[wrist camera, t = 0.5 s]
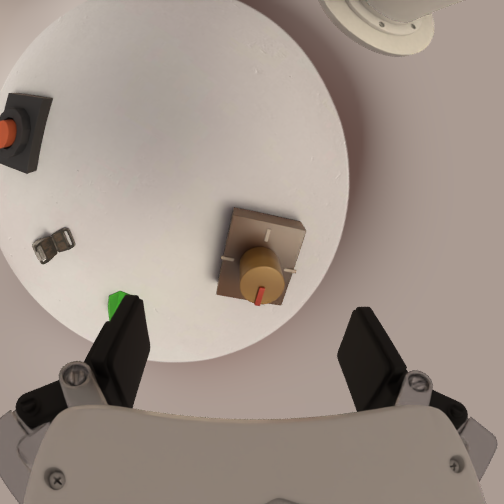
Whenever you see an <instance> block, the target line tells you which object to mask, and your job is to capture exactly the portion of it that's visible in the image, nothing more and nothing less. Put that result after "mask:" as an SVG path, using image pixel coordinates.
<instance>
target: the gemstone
mask: <svg viewBox="0 0 504 504" xmlns="http://www.w3.org/2000/svg"><path fill="white" fill-rule="evenodd" d="M126 294H127V293H124V292H121V291H119V292H117V293H114V294H112V295H110V296H109V302H108V313H109V321H110V320H111V318H112V316H113V315H114V313H115V311H116V309H117V308H118V306H119V304H120V302H121V301H122V299H123V297H124V296H125V295H126ZM128 295H129V294H128Z"/></svg>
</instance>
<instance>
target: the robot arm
mask: <svg viewBox="0 0 504 504" xmlns="http://www.w3.org/2000/svg"><path fill="white" fill-rule="evenodd" d="M345 1H346V3H347V4H348V6H349V7H350V9H351V10H352V11H353V12H354V13H355V14H356V15H357V16H358V17H359V18H360V19H362V20H363V21H364V22H365V23H367V24H368V25H370V26H371V27H373V28H375V29H377V30H378V31H380V32H383V33H386V34H389V35H393V36H406V35H409V34H412V33H414V32H416V31H417V30H418V29H419V28H420V26H421V24H422V19H423V16H425V15H428V14H430V13H432V12H435V11H437V10H440V9H442V8H445V7H448V6H450V5H453V4H456V3H458V2H461V1H464V0H345ZM149 352H150V341H149V335H148V330H147V324H146V318H145V311H144V305H143V300H142V299H139V297H138V296H137V295H128V294H126V295H125V296H124V297H123V299H122V301H121V302H120V304H119V306H118V308H117V309H116V311H115V313H114V315H113V316H112V318H111V320H110V321H107V322H106V323H105V324H104V326H103V327H102V329H101V331H100V333H99V335H98V336H97V338H96V340H95V342H94V344H93V346H92V347H91V349H90V351H89V353H88V355H87V357H86V359H85V361H84V362H81V361H74V362H70V363H68V364H66V365H65V366H64V367H63V368H62V369H61V370H60V373H59V380H58V381H55V382H53V383H50V384H48V385H45V386H43V387H41V388H38V389H36V390H33V391H31V392H28V393H25V394H23V395H22V396H21V397H20V398H19V399H18V401H17V403H16V410H15V411H13V412H12V411H11V410H10V411H9V412H7V413H6V414H5V415H3V416H2V417H1V418H0V477H1V478H2V480H3V481H4V483H5V484H6V486H7V487H8V489H9V490H10V492H11V493H12V494H13V496H14V497H15V498H16V500H17V501H18V502H19V504H486V502H485V498H484V495H483V492H482V488H481V486H480V483H479V482H480V480H481V478H482V476H483V475H484V473H485V471H486V469H487V467H488V465H489V463H490V461H491V459H492V457H493V455H494V453H495V451H496V448H497V440H496V437H495V436H494V435H493V434H492V433H491V432H489V431H488V430H487V429H486V428H484V427H483V426H482V425H481V424H479V423H478V422H477V421H476V420H474V419H473V418H472V417H470V418H469V419H468V418H467V417H468V414H467V410H466V408H465V407H464V405H463V404H461V403H460V402H458V401H456V400H454V399H451V398H449V397H447V396H445V395H443V394H440V393H438V392H436V391H434V390H432V388H433V384H432V381H431V379H430V378H429V376H428V375H426V374H425V373H423V372H421V371H415V370H413V371H410V372H408V371H407V370H406V368H407V367H406V365H405V363H404V361H403V360H402V358H401V356H400V355H399V353H398V351H397V350H396V348H395V346H394V345H393V343H392V341H391V340H390V338H389V336H388V335H387V333H386V331H385V330H384V328H383V327H382V325H381V323H380V322H379V320H378V319H377V317H376V316H375V314H374V312H373V311H372V309H371V308H370V307H357V308H356V310H354V311H353V312H352V315H351V318H350V321H349V323H348V326H347V329H346V332H345V335H344V337H343V340H342V342H341V345H340V348H339V350H338V354H337V357H338V361H339V364H340V366H341V369H342V371H343V374H344V376H345V379H346V382H347V385H348V388H349V390H350V393H351V396H352V399H353V401H354V404H355V407H356V410H357V412H353V413H345V414H338V415H329V416H320V417H308V418H291V419H221V418H206V417H194V416H184V415H175V414H166V413H159V412H152V411H145V410H139V409H133V404H134V401H135V397H136V394H137V390H138V387H139V384H140V381H141V377H142V374H143V371H144V368H145V364H146V361H147V358H148V355H149Z"/></svg>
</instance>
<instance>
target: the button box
mask: <svg viewBox="0 0 504 504" xmlns="http://www.w3.org/2000/svg"><path fill="white" fill-rule="evenodd" d="M52 100H53V99H52V98H47V97H41V96H35V95H28V94H21V93H9V94H8V98H7V102H6V106H5V110H4V112H3V113H2V114H1V116H0V121H2V120H9V119H12V120H14V121H15V123H16V129H17V133H16V138H15V141H14V142H13V144H12V145H11V146H8V147H4V148H0V164H3V165H6V166H8V167H11V168H13V169H16V170H19V171H21V172H24V173H26V174H28V173H30V172H33V171H36V170H37V164H38V158H39V152H40V147H41V142H42V138H43V133H44V129H45V125H46V121H47V117H48V113H49V110H50V106H51V103H52Z"/></svg>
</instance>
